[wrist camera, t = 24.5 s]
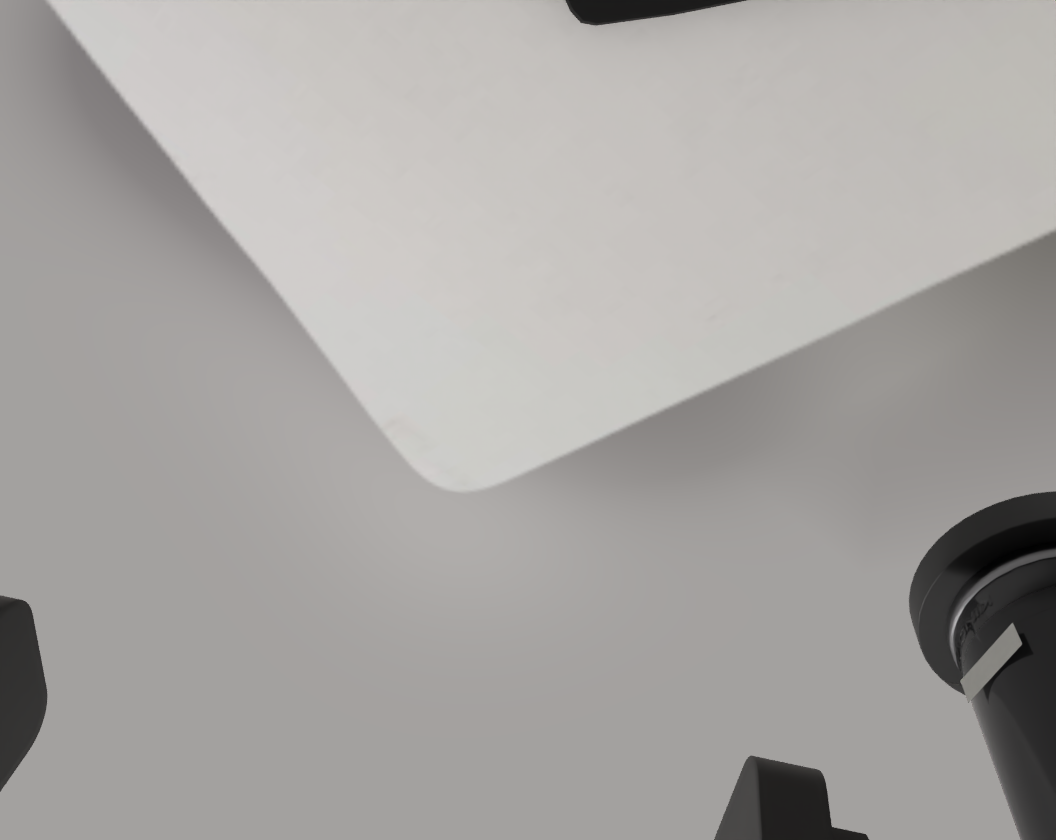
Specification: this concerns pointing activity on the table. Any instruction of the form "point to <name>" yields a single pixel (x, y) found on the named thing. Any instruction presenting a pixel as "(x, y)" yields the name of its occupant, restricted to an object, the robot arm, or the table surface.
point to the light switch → (635, 9)
